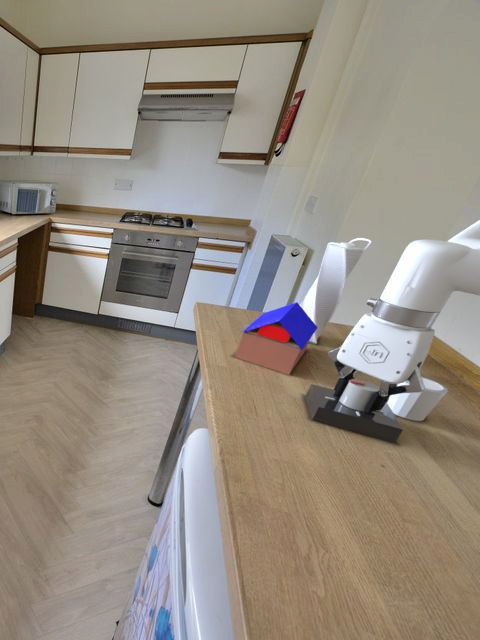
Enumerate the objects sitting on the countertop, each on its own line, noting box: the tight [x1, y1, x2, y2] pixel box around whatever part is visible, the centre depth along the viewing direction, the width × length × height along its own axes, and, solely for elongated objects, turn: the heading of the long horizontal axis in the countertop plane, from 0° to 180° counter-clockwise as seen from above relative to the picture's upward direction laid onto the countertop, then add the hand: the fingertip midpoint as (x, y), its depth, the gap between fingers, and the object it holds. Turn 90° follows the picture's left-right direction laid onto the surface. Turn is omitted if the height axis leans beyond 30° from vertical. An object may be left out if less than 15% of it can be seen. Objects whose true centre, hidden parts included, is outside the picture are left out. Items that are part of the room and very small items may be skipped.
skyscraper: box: [299, 237, 372, 345], centre depth 108 cm, size 8×8×28 cm
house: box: [234, 301, 318, 376], centre depth 101 cm, size 12×20×12 cm, turn 134°
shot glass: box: [386, 376, 449, 422], centre depth 80 cm, size 7×7×7 cm
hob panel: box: [305, 383, 404, 444], centre depth 79 cm, size 12×10×3 cm
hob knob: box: [339, 378, 380, 411], centre depth 77 cm, size 4×4×5 cm
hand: (355, 402), depth 78 cm, fingers closed on hob knob, 4 cm apart
